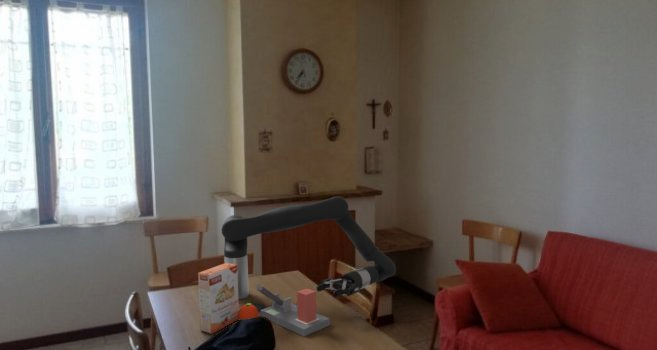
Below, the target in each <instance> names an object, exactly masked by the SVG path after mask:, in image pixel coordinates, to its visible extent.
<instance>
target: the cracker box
mask: <svg viewBox="0 0 657 350" xmlns="http://www.w3.org/2000/svg"><path fill="white" fill-rule="evenodd" d="M197 278H198V281H197V282H198V304H199V306H198V308H199V329H200V332H201V331H202V332H204V333H207V334H211V335H212V334H214V333H216V332H218V331H220V330H222V329H223V328H226V327H228V326H230V325H232V324H234V323H235V321H236V322H238V321H240V320H239V310H240V309H239V299H238V269H237V265H235V264H230V263H225V262H224V263H222V264H219V265H216V266H213V267H211V268H208V269H204V270H203V271H200V272H198V273H197ZM237 320H238V321H237ZM233 322H234V323H233ZM231 323H232V324H231ZM229 324H230V325H229ZM227 325H228V326H227ZM225 326H226V327H225Z"/></svg>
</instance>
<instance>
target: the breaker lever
mask: <svg viewBox="0 0 657 350" xmlns="http://www.w3.org/2000/svg"><path fill="white" fill-rule="evenodd" d="M255 290H256V291H258V292H259V293H261V294H262V295H264V296H265V297H266V298H268V299H269V300H271V302H272V301H273V302H275V303H276V304H277V305H279V306H282V307H283V300H282V299H281V298H280V299H279V298H278V297H277V296H275V295H274V294H275V293H272V292H271V291H270V290H268V289H267V288H266V287H265V286H263V285H260V284H258V285H257V286H256V288H255Z"/></svg>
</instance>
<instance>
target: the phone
mask: <svg viewBox="0 0 657 350" xmlns="http://www.w3.org/2000/svg"><path fill="white" fill-rule="evenodd" d="M250 303H251V304H252V305H254V306H255V307H256V308H257V310H258V313H259V312H260V310H262V309H265V308H266V304H263V303H255V302H250Z"/></svg>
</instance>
